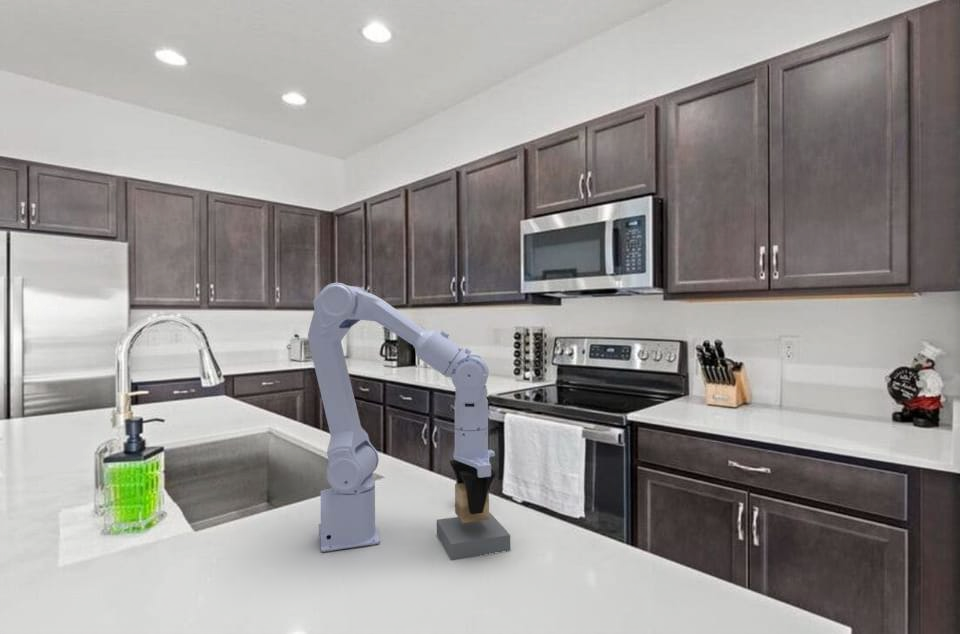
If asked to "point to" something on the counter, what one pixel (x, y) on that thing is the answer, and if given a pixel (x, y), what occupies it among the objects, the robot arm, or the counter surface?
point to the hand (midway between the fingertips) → (471, 507)
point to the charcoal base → (472, 537)
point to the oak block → (463, 508)
